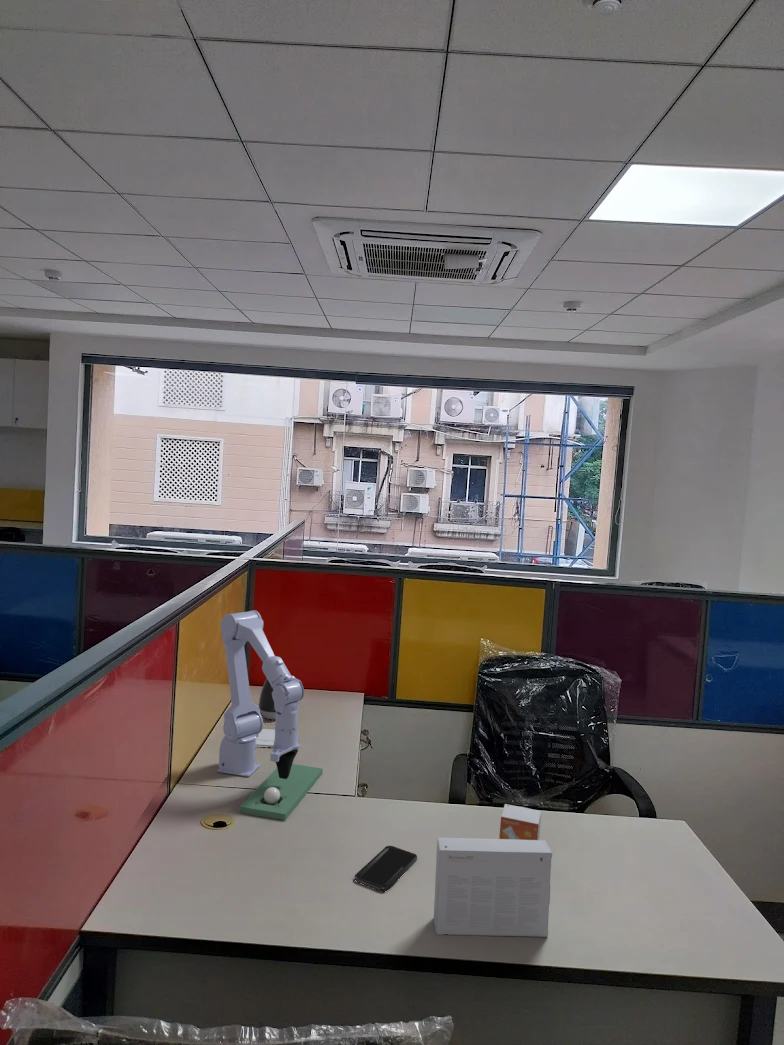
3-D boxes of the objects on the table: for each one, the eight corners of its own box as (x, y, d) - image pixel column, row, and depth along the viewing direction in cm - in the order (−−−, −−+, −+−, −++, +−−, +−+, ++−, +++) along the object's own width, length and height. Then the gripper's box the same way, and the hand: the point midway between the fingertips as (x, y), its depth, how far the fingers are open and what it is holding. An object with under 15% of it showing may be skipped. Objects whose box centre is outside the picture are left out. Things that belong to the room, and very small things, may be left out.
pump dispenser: (290, 722, 224) (292, 677, 223) (258, 722, 222) (260, 678, 221) (288, 711, 234) (290, 669, 233) (257, 712, 232) (259, 669, 231)
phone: (352, 877, 138) (388, 844, 151) (352, 882, 138) (387, 849, 151) (385, 890, 134) (419, 855, 147) (385, 895, 134) (419, 860, 147)
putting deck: (239, 812, 163) (239, 806, 163) (282, 767, 189) (282, 762, 189) (285, 820, 160) (285, 814, 160) (322, 773, 186) (322, 768, 186)
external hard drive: (284, 735, 215) (276, 750, 202) (258, 733, 215) (249, 748, 202) (284, 730, 214) (276, 745, 202) (258, 728, 215) (250, 743, 202)
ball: (265, 794, 170) (264, 808, 167) (263, 784, 168) (261, 798, 165) (281, 793, 170) (280, 807, 167) (279, 782, 168) (278, 796, 165)
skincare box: (541, 919, 129) (546, 839, 128) (548, 938, 123) (554, 855, 122) (432, 915, 128) (436, 835, 127) (434, 935, 122) (439, 851, 121)
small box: (496, 875, 142) (500, 816, 141) (500, 859, 148) (504, 802, 147) (534, 884, 140) (539, 823, 139) (537, 867, 146) (541, 810, 145)
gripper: (290, 739, 166) (287, 792, 167) (310, 719, 180) (308, 768, 181) (263, 735, 167) (261, 787, 168) (286, 715, 181) (283, 764, 182)
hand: (283, 777), depth 175 cm, fingers closed
